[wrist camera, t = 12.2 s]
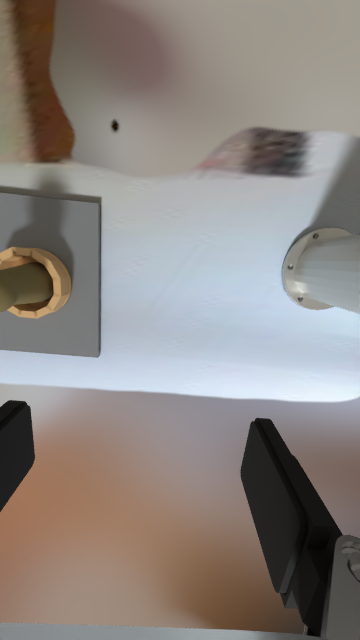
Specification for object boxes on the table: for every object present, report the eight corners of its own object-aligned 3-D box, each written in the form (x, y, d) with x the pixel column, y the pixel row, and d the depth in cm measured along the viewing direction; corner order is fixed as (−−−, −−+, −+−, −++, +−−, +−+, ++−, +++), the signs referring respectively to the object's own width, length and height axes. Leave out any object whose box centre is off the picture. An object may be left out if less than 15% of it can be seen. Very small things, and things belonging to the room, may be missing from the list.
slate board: (100, 205, 33) (97, 203, 32) (99, 355, 39) (97, 357, 38) (-27, 191, 32) (-33, 188, 31) (-7, 346, 38) (-11, 348, 37)
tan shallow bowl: (70, 251, 33) (59, 250, 30) (72, 315, 36) (62, 321, 33) (2, 244, 33) (-17, 243, 30) (9, 310, 35) (-8, 315, 32)
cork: (10, 279, 33) (-67, 288, 23) (37, 252, 32) (-31, 249, 22) (41, 309, 35) (-19, 331, 24) (68, 285, 34) (18, 296, 23)
